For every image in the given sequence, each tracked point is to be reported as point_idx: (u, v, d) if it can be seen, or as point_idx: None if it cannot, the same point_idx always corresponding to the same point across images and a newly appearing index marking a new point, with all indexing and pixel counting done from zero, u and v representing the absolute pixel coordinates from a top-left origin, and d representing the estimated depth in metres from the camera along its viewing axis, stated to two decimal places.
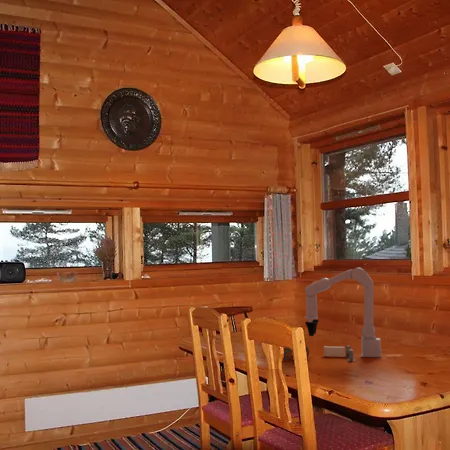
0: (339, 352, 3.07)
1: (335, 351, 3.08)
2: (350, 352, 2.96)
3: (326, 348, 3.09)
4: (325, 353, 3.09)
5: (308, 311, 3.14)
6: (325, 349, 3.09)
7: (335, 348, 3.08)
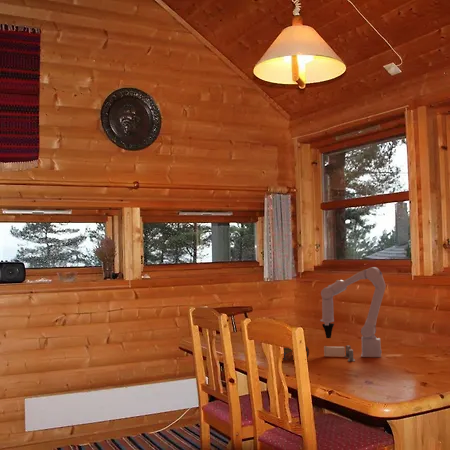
0: (339, 352, 3.07)
1: (335, 351, 3.08)
2: (350, 352, 2.96)
3: (326, 348, 3.09)
4: (325, 353, 3.09)
5: (324, 314, 3.14)
6: (325, 349, 3.09)
7: (335, 348, 3.08)
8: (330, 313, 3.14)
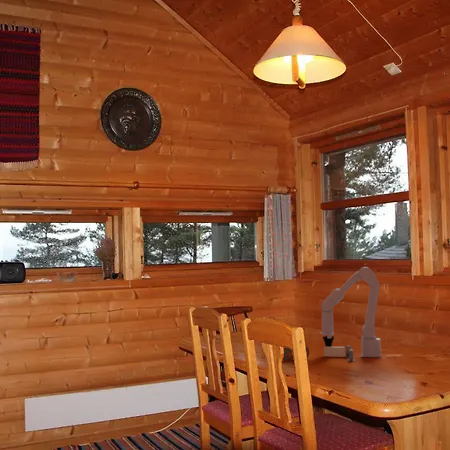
0: (339, 352, 3.07)
1: (335, 351, 3.08)
2: (350, 352, 2.96)
3: (326, 348, 3.09)
4: (325, 353, 3.09)
5: (325, 327, 3.10)
6: (325, 349, 3.09)
7: (335, 348, 3.08)
8: (331, 326, 3.10)
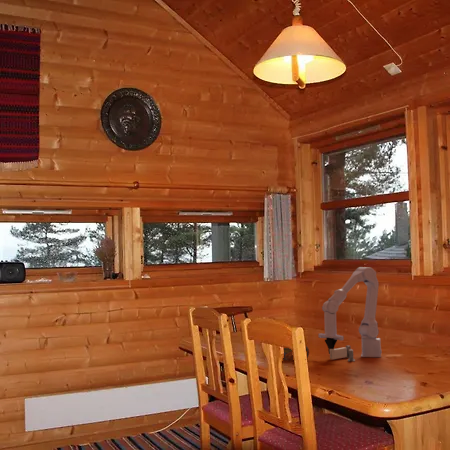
0: (343, 353, 3.04)
1: (340, 353, 3.03)
2: (350, 352, 2.96)
3: (334, 351, 3.00)
4: (333, 356, 3.00)
5: (332, 329, 3.00)
6: (333, 352, 3.00)
7: (340, 350, 3.03)
8: (336, 327, 3.02)
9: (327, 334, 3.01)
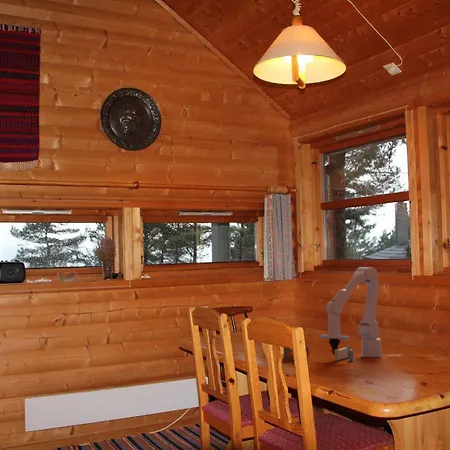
0: (345, 353, 3.03)
1: (343, 353, 3.02)
2: (350, 352, 2.96)
3: (339, 351, 2.98)
4: (339, 357, 2.98)
5: (337, 330, 2.98)
6: (339, 352, 2.98)
7: (343, 350, 3.02)
8: None
9: (332, 335, 2.98)
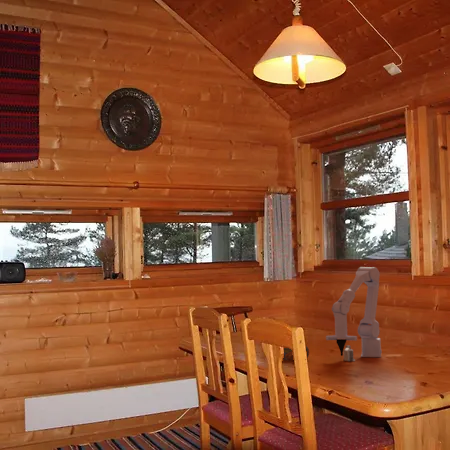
0: None
1: (348, 353, 3.01)
2: (350, 352, 2.96)
3: (347, 352, 2.97)
4: (348, 357, 2.96)
5: (346, 330, 2.96)
6: (347, 353, 2.96)
7: (348, 350, 3.01)
8: None
9: (341, 335, 2.95)
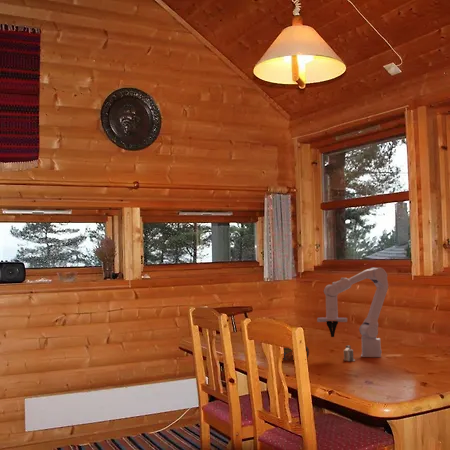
0: None
1: (348, 353, 3.01)
2: (350, 352, 2.96)
3: (347, 352, 2.97)
4: (348, 357, 2.96)
5: (336, 312, 3.04)
6: (348, 353, 2.96)
7: (348, 350, 3.01)
8: None
9: (332, 317, 3.03)
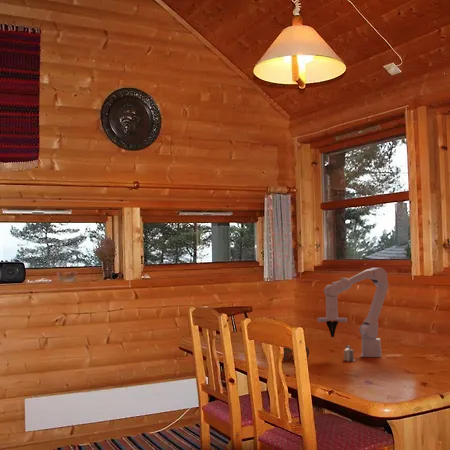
0: None
1: (348, 353, 3.01)
2: (350, 352, 2.96)
3: (347, 352, 2.97)
4: (348, 357, 2.96)
5: (336, 312, 3.04)
6: (348, 353, 2.96)
7: (348, 350, 3.01)
8: None
9: (332, 317, 3.03)
